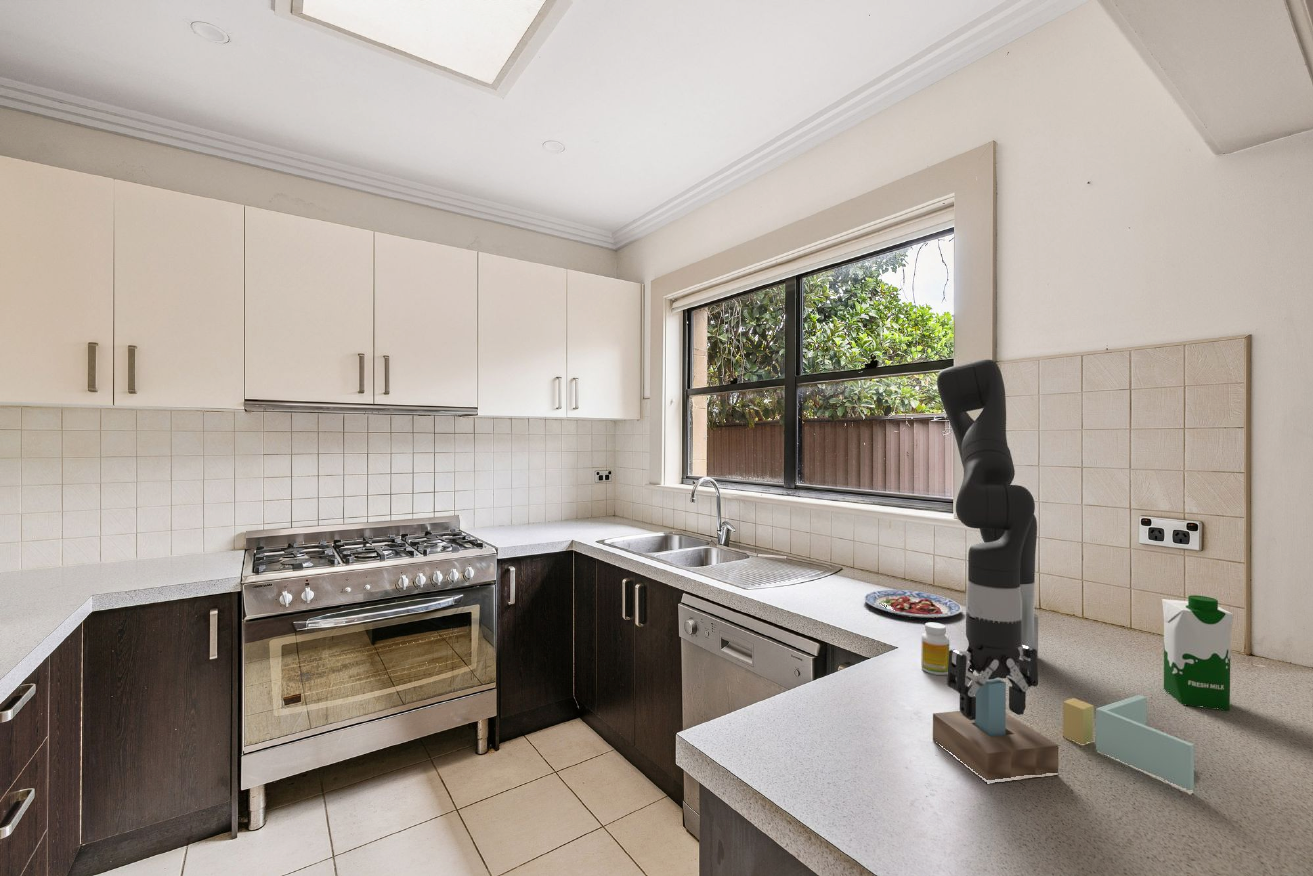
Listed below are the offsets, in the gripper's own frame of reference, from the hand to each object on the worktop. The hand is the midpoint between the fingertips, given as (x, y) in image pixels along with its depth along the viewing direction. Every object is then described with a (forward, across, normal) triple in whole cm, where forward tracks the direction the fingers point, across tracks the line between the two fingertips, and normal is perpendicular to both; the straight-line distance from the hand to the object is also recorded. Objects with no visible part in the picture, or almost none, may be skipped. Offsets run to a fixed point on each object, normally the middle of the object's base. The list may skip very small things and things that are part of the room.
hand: (992, 715), depth 90 cm
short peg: (+7, -18, -2) cm, 19 cm away
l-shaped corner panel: (+7, -25, +6) cm, 26 cm away
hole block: (+7, 0, 0) cm, 7 cm away
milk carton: (+7, -53, -10) cm, 54 cm away
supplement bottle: (+7, -13, -31) cm, 34 cm away
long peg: (+7, 0, -1) cm, 7 cm away
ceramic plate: (+7, -35, -71) cm, 79 cm away
